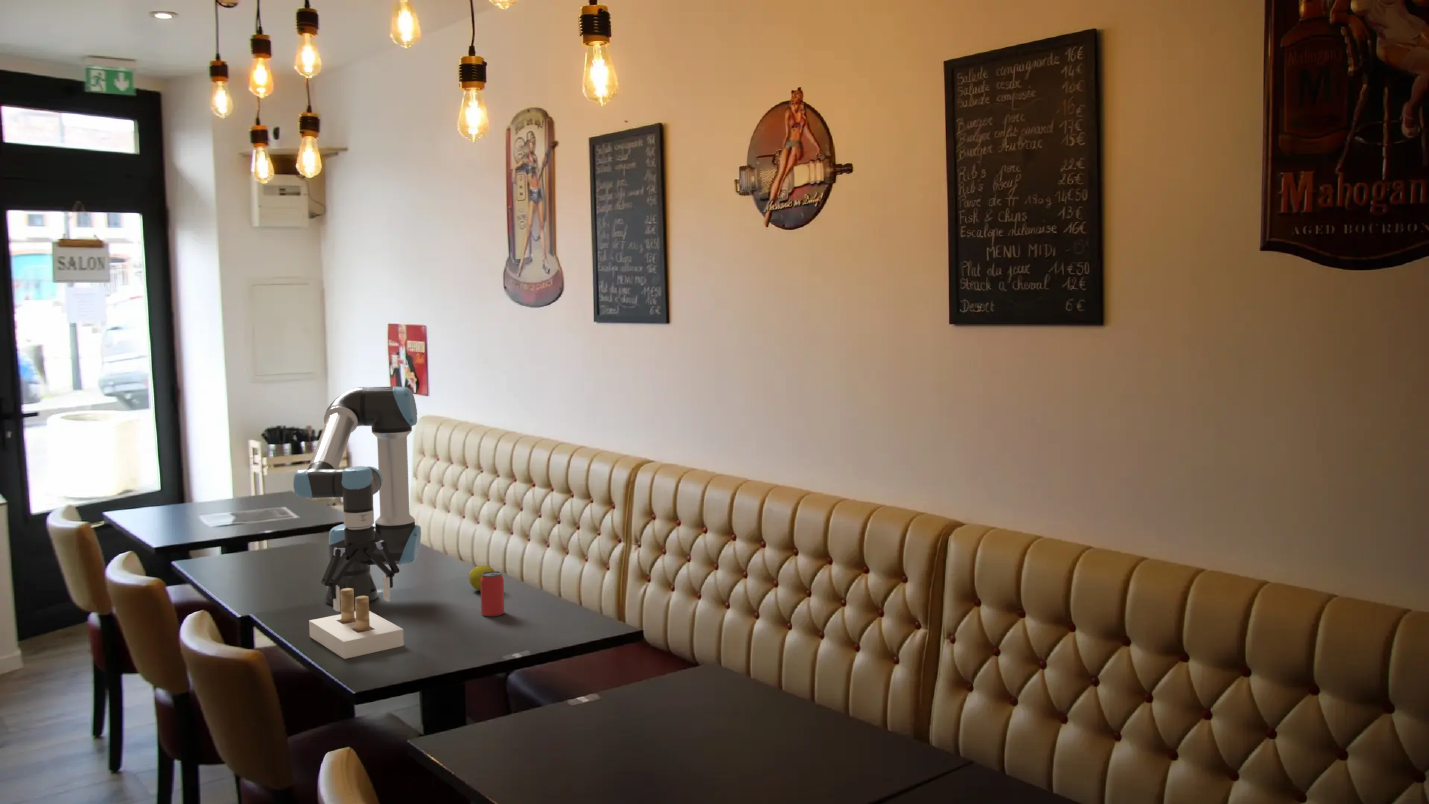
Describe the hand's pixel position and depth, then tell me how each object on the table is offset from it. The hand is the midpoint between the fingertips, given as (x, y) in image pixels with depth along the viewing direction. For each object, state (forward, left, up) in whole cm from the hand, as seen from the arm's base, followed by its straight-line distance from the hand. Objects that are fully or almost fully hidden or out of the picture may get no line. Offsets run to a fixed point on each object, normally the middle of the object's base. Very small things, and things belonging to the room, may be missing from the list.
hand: (362, 605), depth 289 cm
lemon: (-50, -27, -11) cm, 58 cm away
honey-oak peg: (0, 0, -11) cm, 11 cm away
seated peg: (0, -10, -11) cm, 15 cm away
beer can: (-40, -3, -11) cm, 41 cm away
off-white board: (0, -5, -11) cm, 12 cm away
